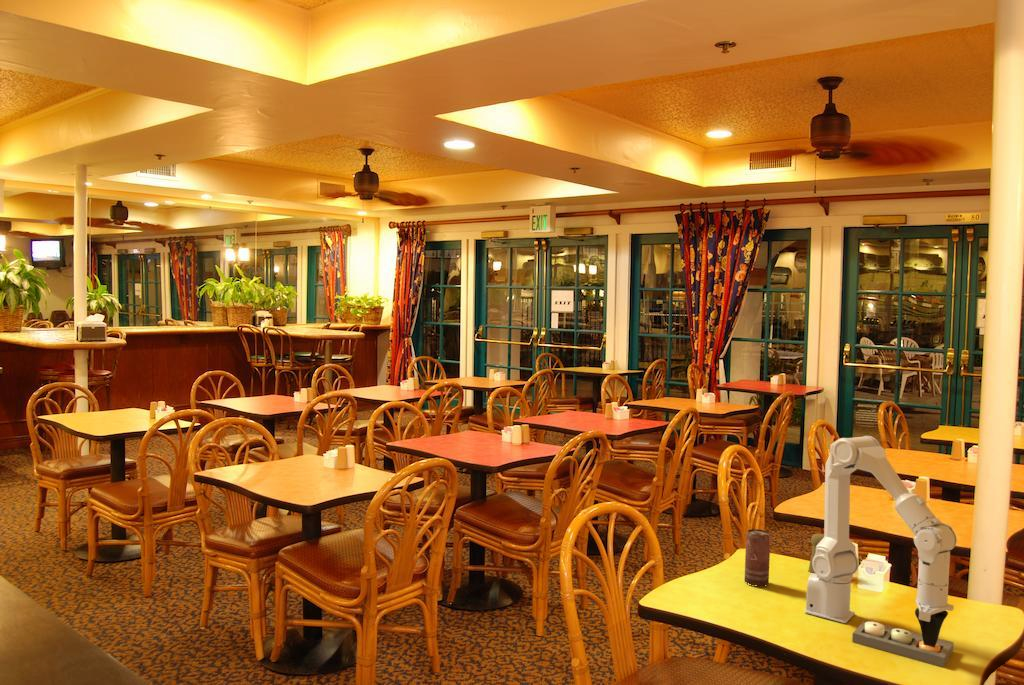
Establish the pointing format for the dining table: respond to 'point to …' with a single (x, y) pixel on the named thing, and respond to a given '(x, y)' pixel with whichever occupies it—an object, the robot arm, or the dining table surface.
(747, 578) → the can
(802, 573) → the dining table surface
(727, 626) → the dining table surface
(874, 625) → the button one
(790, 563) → the dining table surface
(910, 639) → the button two
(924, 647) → the button three
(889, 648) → the button panel
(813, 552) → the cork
